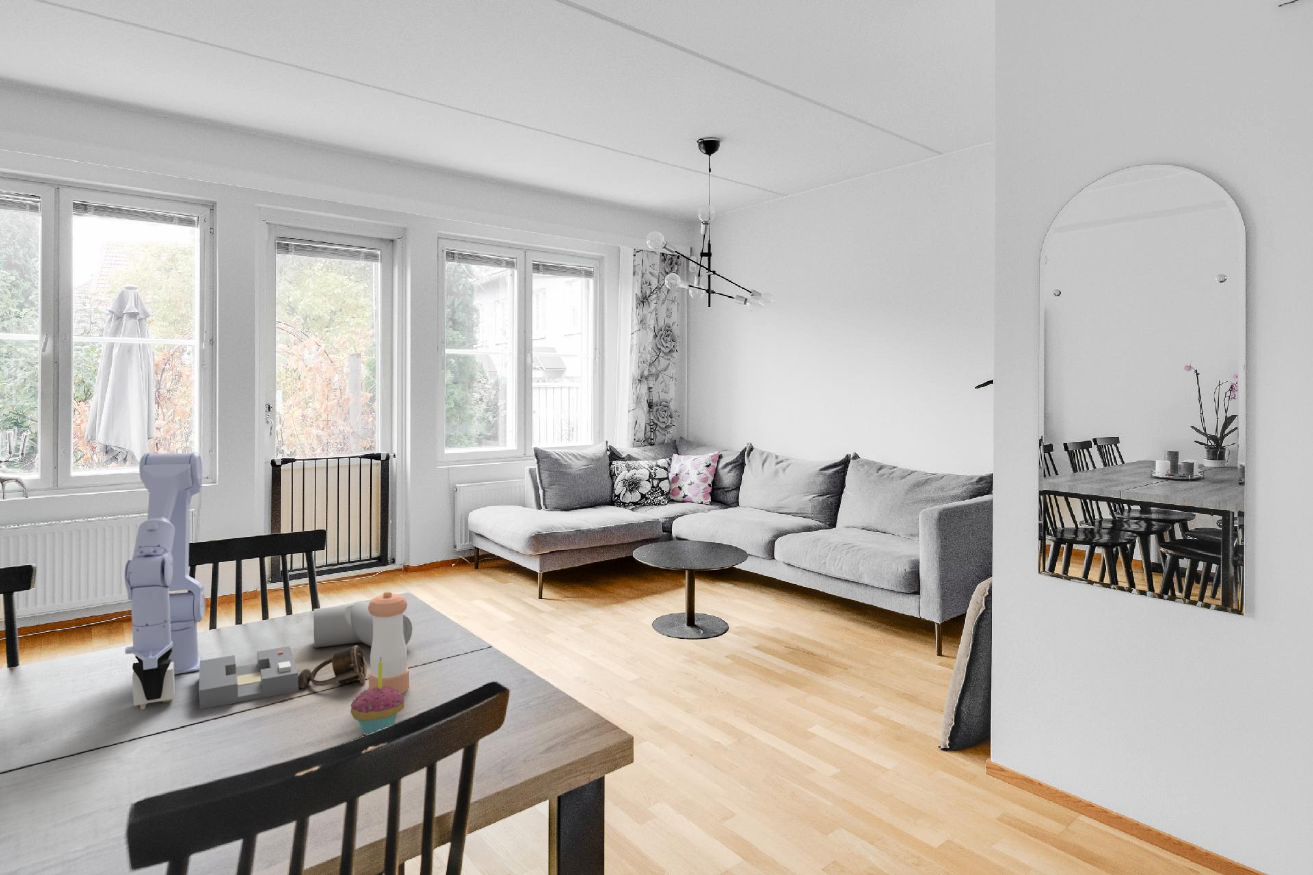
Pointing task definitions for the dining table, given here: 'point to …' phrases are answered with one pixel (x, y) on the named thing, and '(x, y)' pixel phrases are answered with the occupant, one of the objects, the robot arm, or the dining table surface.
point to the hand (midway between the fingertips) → (154, 693)
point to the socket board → (247, 678)
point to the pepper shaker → (388, 642)
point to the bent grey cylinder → (348, 625)
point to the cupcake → (377, 706)
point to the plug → (166, 692)
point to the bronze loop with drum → (339, 668)
